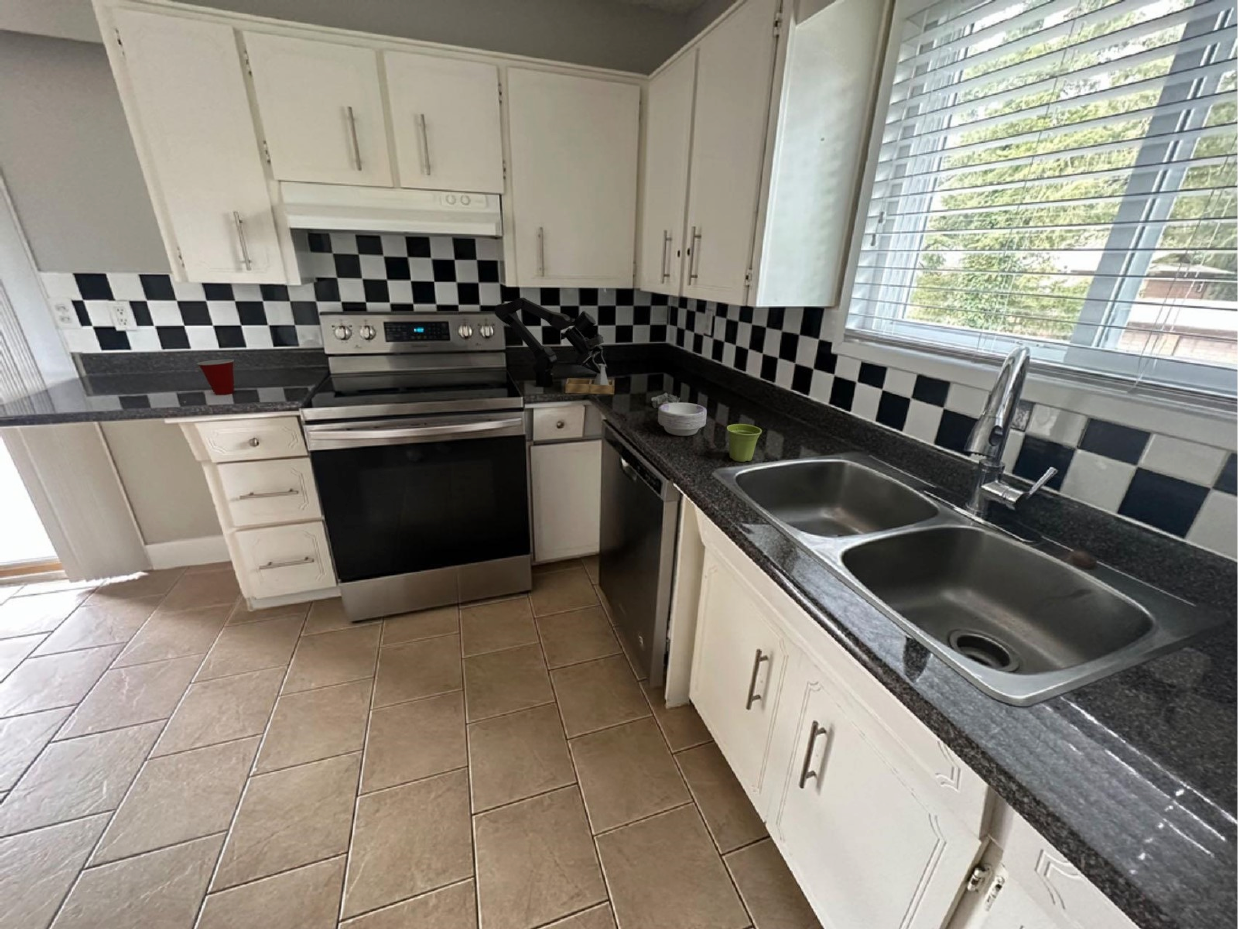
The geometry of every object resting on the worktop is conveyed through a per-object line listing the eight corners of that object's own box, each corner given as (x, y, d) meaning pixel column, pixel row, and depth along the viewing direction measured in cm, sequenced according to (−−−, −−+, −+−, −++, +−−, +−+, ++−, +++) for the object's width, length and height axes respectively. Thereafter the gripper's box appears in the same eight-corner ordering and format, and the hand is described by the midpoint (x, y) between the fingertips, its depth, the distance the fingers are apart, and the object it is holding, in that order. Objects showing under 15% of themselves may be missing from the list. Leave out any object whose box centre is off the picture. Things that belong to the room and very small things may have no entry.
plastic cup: (233, 387, 191) (224, 356, 186) (248, 392, 186) (239, 359, 182) (199, 393, 182) (190, 360, 178) (214, 398, 177) (205, 364, 173)
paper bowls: (654, 424, 167) (655, 401, 164) (698, 424, 169) (701, 401, 166) (660, 439, 153) (662, 414, 150) (709, 439, 155) (712, 415, 152)
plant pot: (720, 461, 138) (724, 431, 135) (726, 450, 147) (729, 422, 143) (755, 466, 135) (759, 436, 132) (759, 455, 144) (763, 426, 140)
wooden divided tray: (565, 392, 201) (565, 384, 200) (567, 386, 211) (567, 378, 209) (614, 394, 202) (614, 385, 200) (613, 388, 211) (614, 379, 210)
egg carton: (665, 410, 183) (666, 400, 181) (648, 406, 187) (649, 396, 185) (681, 405, 190) (682, 394, 189) (665, 401, 195) (666, 390, 193)
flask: (613, 389, 206) (614, 365, 202) (599, 391, 202) (600, 367, 198) (603, 385, 211) (603, 362, 207) (589, 388, 207) (589, 363, 203)
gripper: (584, 330, 190) (611, 362, 191) (598, 324, 206) (623, 354, 208) (564, 349, 194) (591, 380, 196) (580, 342, 211) (604, 371, 213)
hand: (603, 370), depth 203 cm, fingers open, 9 cm apart
